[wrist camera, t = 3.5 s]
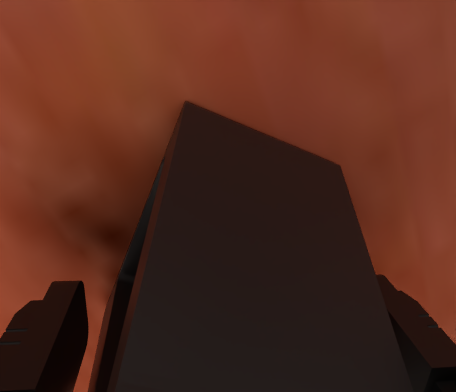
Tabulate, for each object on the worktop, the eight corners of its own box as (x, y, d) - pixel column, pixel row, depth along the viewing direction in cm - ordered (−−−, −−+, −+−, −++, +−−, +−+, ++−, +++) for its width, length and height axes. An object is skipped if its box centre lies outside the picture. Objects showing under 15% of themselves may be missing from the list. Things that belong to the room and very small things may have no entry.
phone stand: (186, 98, 13) (213, 529, 2) (337, 162, 14) (886, 611, 3) (104, 306, 15) (-89, 979, 4) (237, 341, 17) (340, 908, 6)
